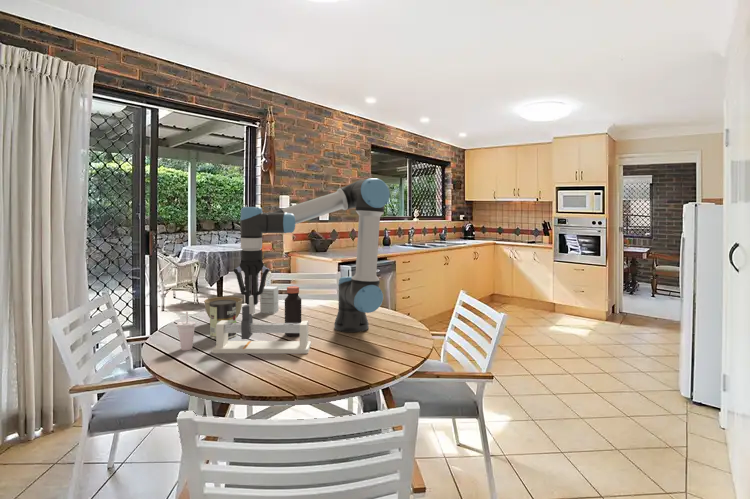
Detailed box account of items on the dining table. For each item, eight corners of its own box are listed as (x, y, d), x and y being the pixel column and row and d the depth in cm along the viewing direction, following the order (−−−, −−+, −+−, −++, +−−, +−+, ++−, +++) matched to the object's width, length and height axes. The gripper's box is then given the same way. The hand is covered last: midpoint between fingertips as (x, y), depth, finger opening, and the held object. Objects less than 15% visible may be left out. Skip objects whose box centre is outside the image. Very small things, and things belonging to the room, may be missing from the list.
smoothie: (184, 352, 153) (183, 314, 152) (173, 349, 157) (172, 311, 156) (199, 348, 159) (199, 310, 158) (189, 345, 162) (188, 308, 161)
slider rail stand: (311, 345, 164) (311, 319, 163) (307, 353, 154) (307, 326, 154) (221, 344, 163) (221, 318, 162) (212, 353, 153) (211, 325, 152)
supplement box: (265, 310, 223) (264, 285, 222) (278, 310, 222) (278, 286, 221) (259, 313, 215) (259, 288, 214) (274, 313, 215) (273, 288, 214)
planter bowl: (235, 328, 186) (235, 303, 186) (198, 327, 187) (198, 303, 186) (247, 319, 203) (247, 296, 202) (213, 318, 203) (213, 296, 202)
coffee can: (241, 333, 179) (240, 300, 178) (228, 340, 169) (227, 305, 168) (219, 331, 181) (218, 298, 180) (204, 338, 171) (204, 303, 170)
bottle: (281, 334, 178) (281, 287, 176) (294, 331, 183) (294, 285, 181) (291, 338, 173) (291, 289, 172) (304, 334, 178) (304, 287, 176)
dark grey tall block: (252, 334, 161) (252, 304, 161) (248, 339, 155) (247, 308, 154) (246, 334, 161) (245, 304, 160) (241, 339, 155) (241, 308, 154)
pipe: (303, 331, 160) (303, 322, 160) (302, 333, 157) (302, 324, 157) (224, 330, 159) (224, 322, 159) (222, 333, 156) (222, 324, 156)
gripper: (271, 248, 160) (272, 311, 161) (236, 248, 159) (237, 311, 161) (267, 250, 152) (267, 315, 154) (230, 250, 152) (231, 315, 153)
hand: (252, 313), depth 157 cm, fingers closed
